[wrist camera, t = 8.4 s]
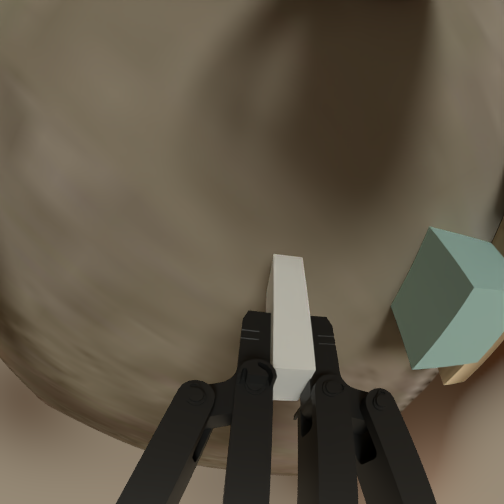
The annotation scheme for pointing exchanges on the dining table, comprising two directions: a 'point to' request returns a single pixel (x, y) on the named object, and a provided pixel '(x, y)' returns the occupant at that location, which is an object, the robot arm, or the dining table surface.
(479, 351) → the block
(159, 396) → the dining table surface
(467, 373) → the stop board
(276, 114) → the dining table surface
